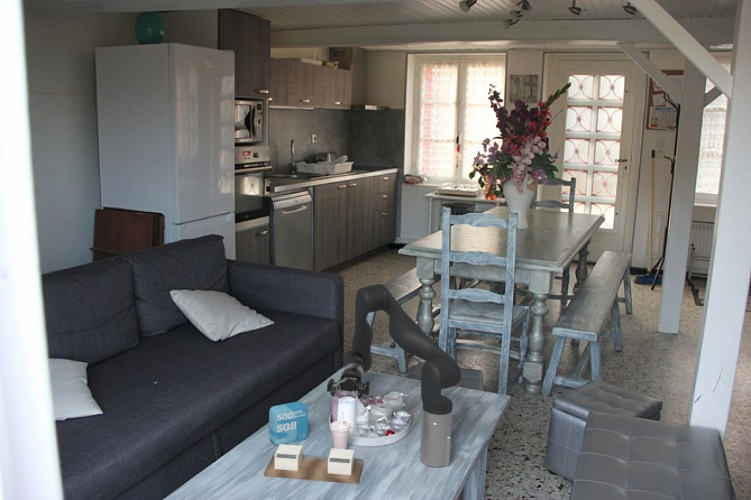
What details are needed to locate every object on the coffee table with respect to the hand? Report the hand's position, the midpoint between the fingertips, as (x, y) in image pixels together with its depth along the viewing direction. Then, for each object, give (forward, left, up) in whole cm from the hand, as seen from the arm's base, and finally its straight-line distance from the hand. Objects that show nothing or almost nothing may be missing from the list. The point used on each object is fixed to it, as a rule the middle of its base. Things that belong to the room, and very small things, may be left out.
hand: (345, 395), depth 230 cm
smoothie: (0, +12, -15) cm, 19 cm away
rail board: (+6, +24, -15) cm, 28 cm away
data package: (+18, +6, -15) cm, 24 cm away
